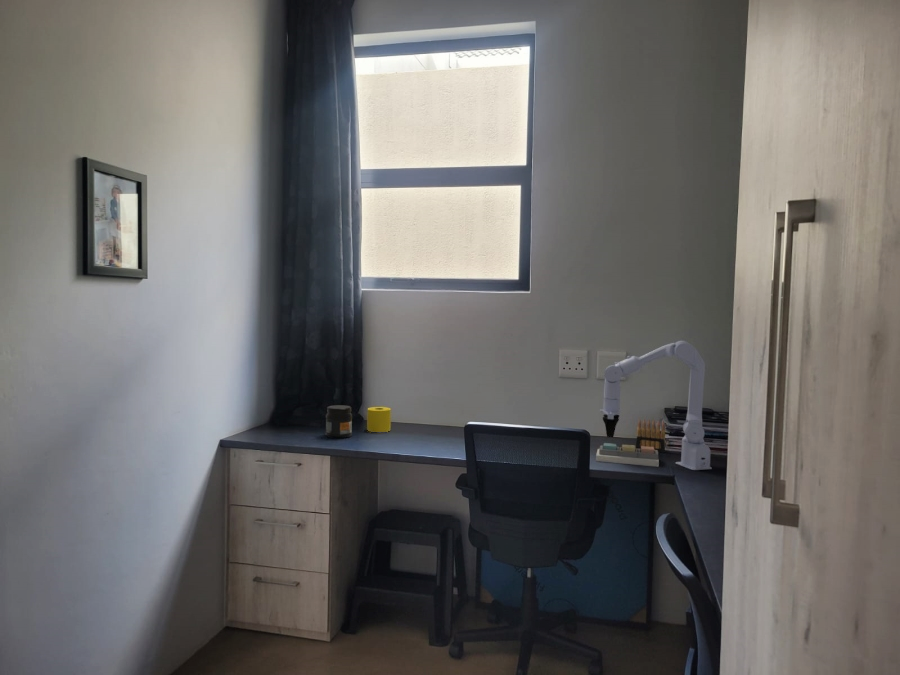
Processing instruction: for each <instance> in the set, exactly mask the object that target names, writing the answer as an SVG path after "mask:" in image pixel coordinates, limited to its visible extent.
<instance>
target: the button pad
mask: <svg viewBox="0 0 900 675" xmlns="http://www.w3.org/2000/svg"><path fill="white" fill-rule="evenodd" d="M603 446H604V445H599V448H597V451H596V455H595V456H596V457H595V461H596V462H603V463H613V464H625V465H635V466H645V467H646V466H647V467H658V468H659V464H660V462H659V452H658V450H654V454H652V453H641V449H637V448H636V447H635V452H629V451H622V446H616V450H606V449H603Z"/></svg>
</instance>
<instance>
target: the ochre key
mask: <svg viewBox="0 0 900 675" xmlns="http://www.w3.org/2000/svg"><path fill="white" fill-rule="evenodd" d="M621 447H622V451H629V452H635V448H636V445H634V444H633V445H632V444H622V445H621Z"/></svg>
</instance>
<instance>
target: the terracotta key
mask: <svg viewBox="0 0 900 675" xmlns="http://www.w3.org/2000/svg"><path fill="white" fill-rule="evenodd" d="M641 453H652V454H654V447H646V446H641Z"/></svg>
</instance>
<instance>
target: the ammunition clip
mask: <svg viewBox="0 0 900 675" xmlns="http://www.w3.org/2000/svg"><path fill="white" fill-rule="evenodd" d="M646 424H647V425H646ZM665 427H666V423H665V421H664V420H663V421H662V423H661V424H660V420H657V423H656V421H655V420H654V419H653V420H652V424H651V420H650V419H648V420H647V423H646V419H644V418H643V420H642V421H641V418H638V422H637V428H636V443H635V448H637V449H641V446H646V447H654V450H658V453H665V452H666V443H665V442H666V428H665Z"/></svg>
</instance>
